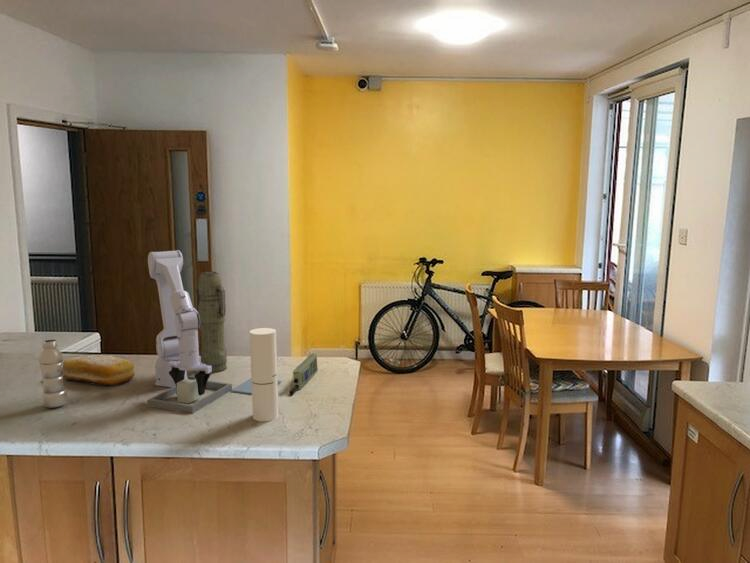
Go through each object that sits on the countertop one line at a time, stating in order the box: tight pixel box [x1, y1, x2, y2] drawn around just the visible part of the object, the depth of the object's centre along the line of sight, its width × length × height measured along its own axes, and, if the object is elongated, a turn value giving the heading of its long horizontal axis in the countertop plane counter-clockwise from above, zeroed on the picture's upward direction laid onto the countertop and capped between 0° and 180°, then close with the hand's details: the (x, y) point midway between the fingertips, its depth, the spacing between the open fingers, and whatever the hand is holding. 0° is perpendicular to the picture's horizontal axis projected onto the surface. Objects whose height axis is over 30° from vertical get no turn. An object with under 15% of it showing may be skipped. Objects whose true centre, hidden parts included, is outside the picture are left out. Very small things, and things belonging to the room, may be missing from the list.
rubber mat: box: [230, 377, 282, 396], centre depth 184 cm, size 11×13×1 cm
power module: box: [176, 373, 206, 404], centre depth 174 cm, size 4×8×7 cm, turn 161°
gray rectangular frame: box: [147, 380, 233, 414], centre depth 175 cm, size 16×20×2 cm
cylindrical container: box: [249, 327, 279, 422], centre depth 159 cm, size 7×7×25 cm
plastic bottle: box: [38, 339, 68, 409], centre depth 167 cm, size 6×7×20 cm
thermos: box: [195, 271, 228, 374], centre depth 199 cm, size 9×12×35 cm
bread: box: [63, 354, 135, 387], centre depth 192 cm, size 13×26×8 cm, turn 70°
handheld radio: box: [288, 353, 319, 396], centre depth 188 cm, size 7×3×25 cm
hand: (191, 392), depth 175 cm, fingers open, 7 cm apart
